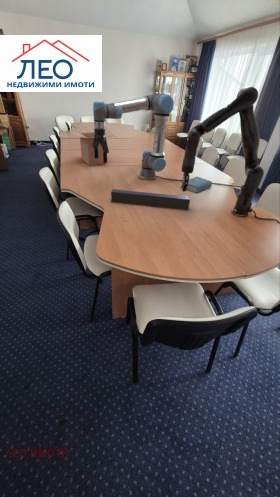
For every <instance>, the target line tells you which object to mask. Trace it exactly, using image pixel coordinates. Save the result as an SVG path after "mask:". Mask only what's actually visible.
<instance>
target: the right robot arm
mask: <svg viewBox="0 0 280 497" xmlns="http://www.w3.org/2000/svg"><path fill="white" fill-rule="evenodd" d="M235 97H236V98H234V100H232V101H231V102H230V103H228V104H227V105H226V106H224V107H222V108H221V109H218V110H217V111H215V112H214V113H212V114H211V115H209V116H208V117H206V118H205V119H203V121H201V122H200V123H198V124H196V125H195V126H193V127H192V128H191V129H189V130H188V132H187V135H186V136H187V141H186V147H185V150H184V154H183V155H184V156H183V158H182V164H181V173H183V174H182V180H183V183H182V182H181V186H182V187H183V188H182V187H181V188H182V192H187V189H186V188H187V186H188V182H189V179H190V174H192V173H194V169H195V164H196V157H197V151H198V147H199V144H200V140H201V137H202V136H204V135H205V134H208V133H210V132H212V131H213V130H215V129H216V128H218V127H219V126H220V125H222V124H223V123H224V122H226V121H227V120H229V119H230V118H232V117H233V116H235V115H237V114H238V115H239V122H240V123H239V124H240V137H241V145H242V151H243V156H244V175H245V177H246V178H245V181H244V183H243V184H241V187H240V189H239V192H238V195H237V199H236V201H235V204H234V207H233V209H232V214H233V215H235V216H237V217H248V215H249V213H253V214H254V217H255V218H256V219H258V220H269V221H275V222H277V223H278V224H280V220H278V219H276V218H269V217H265V218H264V217H258V216H257V213H256V211H255V210H254V209H253V207H252V204H253V203H252V202H253V199H254V197H255V194H256V191H257V189H259V187H260V185H261V182H262V180H263V178H264V174H265V171H264V168H263V167H261V166H260V163H259V158H258V154H259V146H260V140H261V138H260V128H259V126H258V122H257V119H256V116H255V112H254V110H255V109H254V104H255V103H256V102H257V100H258V98H259V91H258V89H257V88H256V87H255V86H244V87H241V89H239V90H238V92H237V94H236V96H235ZM186 183H187V184H186Z"/></svg>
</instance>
